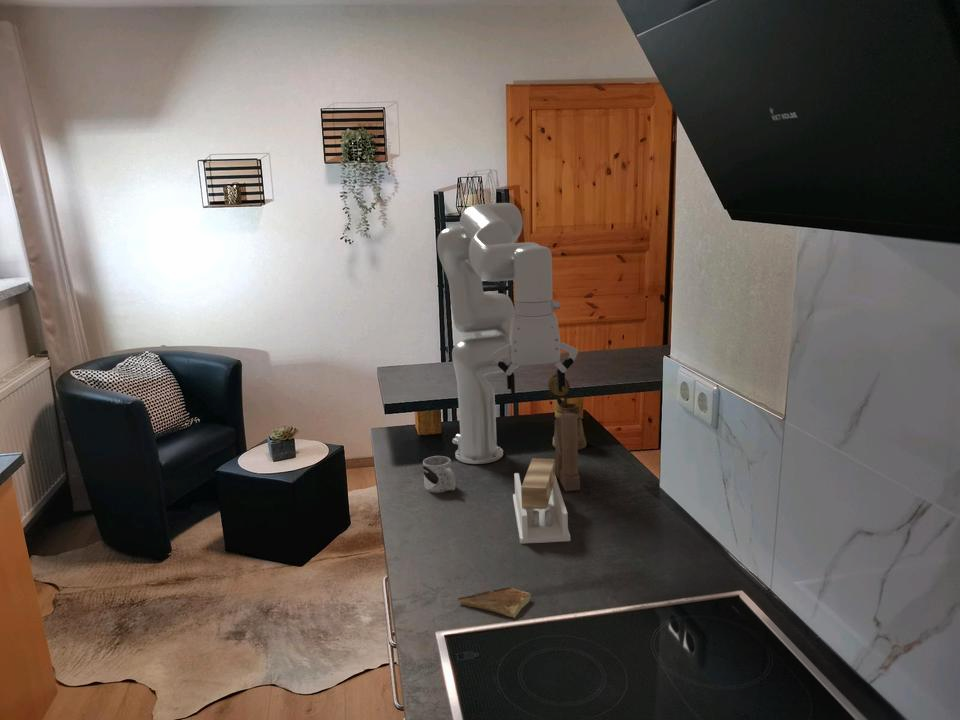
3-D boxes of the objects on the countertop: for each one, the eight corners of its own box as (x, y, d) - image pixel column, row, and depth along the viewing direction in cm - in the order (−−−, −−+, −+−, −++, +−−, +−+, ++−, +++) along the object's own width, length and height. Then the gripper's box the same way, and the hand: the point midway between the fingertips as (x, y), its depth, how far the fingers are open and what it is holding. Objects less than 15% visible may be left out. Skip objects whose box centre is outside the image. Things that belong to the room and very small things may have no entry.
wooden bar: (532, 477, 166) (532, 458, 165) (555, 478, 165) (554, 459, 164) (521, 507, 151) (521, 487, 150) (546, 509, 150) (546, 488, 149)
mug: (419, 487, 179) (417, 461, 177) (441, 479, 183) (440, 453, 181) (443, 499, 171) (442, 472, 170) (466, 491, 175) (465, 464, 174)
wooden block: (569, 473, 183) (568, 403, 179) (580, 490, 173) (579, 416, 168) (555, 474, 183) (553, 404, 178) (564, 492, 172) (563, 417, 168)
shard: (457, 606, 129) (457, 596, 128) (479, 585, 135) (479, 576, 135) (513, 622, 123) (513, 612, 123) (533, 599, 130) (533, 589, 129)
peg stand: (570, 541, 149) (570, 513, 148) (520, 543, 149) (519, 515, 147) (556, 495, 170) (556, 471, 169) (512, 498, 170) (512, 473, 169)
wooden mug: (571, 432, 212) (570, 371, 208) (591, 448, 199) (590, 383, 195) (542, 436, 210) (540, 374, 205) (560, 452, 197) (558, 387, 193)
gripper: (574, 303, 153) (575, 384, 157) (489, 307, 153) (493, 388, 157) (580, 309, 146) (581, 394, 150) (491, 314, 145) (494, 398, 149)
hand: (536, 391), depth 153 cm, fingers open, 9 cm apart
